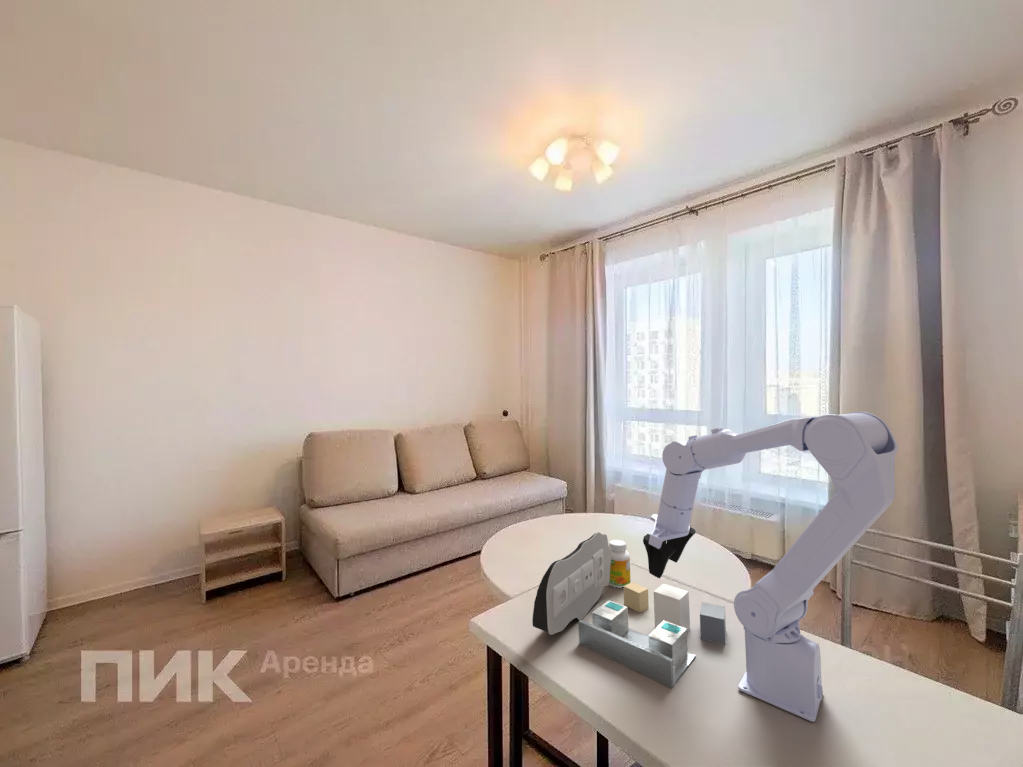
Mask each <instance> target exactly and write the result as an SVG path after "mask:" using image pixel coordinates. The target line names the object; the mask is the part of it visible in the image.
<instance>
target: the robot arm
mask: <svg viewBox="0 0 1023 767" xmlns="http://www.w3.org/2000/svg"><path fill="white" fill-rule="evenodd" d="M710 432H711V433H707V434H703V435H701V436H700V435H699V436H698V435H697V434H696V435H690V436H688V440H683V441H676V440H675V441H674V440H673V441H671V442H670V443H669V444H667V445H665V447H664V448H663V450H662V454H661V455H662V457H661V458H662V463H663V465H664V467H665V475H664V480H663V485H662V489H661V495H660V500H659V506H658V510H657V514H656V513H653V514H652V515H651V516H650V520H651V522H654V525H653V530H652V532H651V533H646V534H645V535H644V536H643V538H642V543H643V546H644V548H645V551H646V554H647V562H648V573H649V574H650V575H652V576H653V577H656V578H658V579H660V578H661V577H662V576H663V574H664V572H665V569H666V567H667V563H668V562H669V560H670V561H671V562H674V563H678V561H679V560H680V558H681V556H682V554H683V552H684V550H685V547H686V545H687V544H688V542H689V541H690V540H691V538H692V537H694V535H695V534H696V533H697V532H696V530H695V528H693V527H691V526H690V525H691V521H692V516H693V515H692V514H693V510H694V509H693V508H694V506H695V505H694V504H695V500H696V495H697V490H698V486H699V481H700V479H701V477H702V473H703V472H705V470H711V469H715V468H721V467H726V466H731V465H737V464H740V463H741V462H742V461H743V460H744V458H745V456H746V454H748V453H752V452H754V453H755V452H759V451H765V450H768V449H774V448H780V447H786V446H791V447H793V448H795V449H797V450H798V451H799V452H806V451H807V452H808V451H809V452H810V453H811V455H812V457H814V458H815V460H816V461H817V462H818V463H819V465H820V466H821V467H822V468H823V469H824V471H825V472H826V473H827V474H828V476H829V477H830V478H831V482H832V483H833V485H834V488H835V493H834V494H833V495H832V497H831V498H830V499H829V500H828V501H827V503H826V504H825V505H824V506H823V507H822V509H821V510H820V511H819V512H818V513H817V515H816V516H815V517H814V518H813V520H812V521H811V522H810V523H809V524H808V526H807V527H806V528H805V529H804V531H803V532H802V533H801V534H800V536H799V537H798V538H797V539H796V541H794V543H793V544H792V546H790V548H789V549H788V550H787V552H785V554H784V555H783V557H781V559H780V560H779V561H778V563H777V564H776V565H775V566H774V567H773V569H771V571H769V572H768V573H766V575H764V576H763V577H761V578H760V579H759V580H758V581H757V582H756V583H755V584H754V585H753V586H752V587H751V588H748V589H745V590H741V591H739V592H738V593H736V595H735V597H734V600H733V608H734V613H735V615H736V617H737V619H738V621H739V622H740V624H741V625H742V627H743V630H744V642H745V643H744V645H745V648H744V649H745V667H746V669H745V672H744V674H743V676H742V677H741V679H740V681H739V683H738V684H737V688H738V690H739V691H740V692H743V693H745V694H748V695H750V696H752V697H754V698H756V699H758V700H761V701H763V702H766V703H768V704H771V705H773V706H775V707H777V708H779V709H781V710H784V711H786V712H788V713H791V714H793V715H796V716H798V717H800V718H803V719H805V720H807V721H810V722H811V723H812V722H816V719H817V716H818V712H819V709H820V705H821V701H822V700H823V693H824V691H823V684H822V682H823V681H822V662H821V650H820V649H821V648H820V644H819V643H817V642H816V641H814V640H812V639H809V638H807V637H805V636H804V635H802V634H801V627H800V620H801V619H803V618H804V617H805V616H806V615H807V612H808V607H809V606H808V605H809V601H810V599H811V597H812V596H813V595H814V594H815V592H814V589H815V588H816V587H817V586H818V585H819V584H820V582H821V581H822V580H823V579H824V578H825V577H826V576H827V574H829V572H831V571H832V570H833V568H834V567H836V565H837V564H838V563H839V562H840V561H841V559H842V558H843V557H844V556H845V555H846V554H847V553H848V552H849V551H850V550H851V549H852V548H853V546H855V544H857V542H858V541H859V540H860V538H862V536H863V535H864V534H865V533H866V532H867V531H869V529H870V528H871V527H872V526H873V524H875V522H876V521H877V520H878V519H879V518H880V516H882V514H884V513H885V511H887V509H888V508H889V507H890V506H891V505H892V504H893V501H894V500H895V495H896V487H895V486H896V481H895V480H896V478H895V476H896V475H895V474H896V470H895V469H896V468H895V467H896V465H895V464H896V463H895V462H896V461H895V460H896V456H897V452H898V449H899V443H898V442H897V440H896V438H895V436H894V435H893V432H892V431H891V429H890V427H889V425H888V423H887V422H885V421H884V419H882V418H881V417H879V416H878V415H876V414H874V413H871V412H868V411H853V412H849V413H844V414H841V413H840V414H835V413H832V414H830V413H829V414H824V415H820V416H810V417H799V418H798V417H797V418H790V419H787V420H783V421H780V422H777V423H774V424H769V425H767V426H763V427H759V428H756V429H753V430H750V431H746V432H742V433H737V432H735V431H734V430H731V429H728V428H727V429H726V428H725V429H723V427H716V428H713V429H710Z"/></svg>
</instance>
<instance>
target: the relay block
mask: <svg viewBox="0 0 1023 767" xmlns="http://www.w3.org/2000/svg"><path fill="white" fill-rule="evenodd" d="M726 620H727V619H726V606H724V605H719V604H714V603H709V602H705V601H701V606H700V611H699V624H700V625H699V628H700V639H701V640H704V641H709V642H713V643H718V644H720V645H721V644H722V645H726V640H727V639H726V638H727V627H726V625H727V623H726V622H727V621H726Z"/></svg>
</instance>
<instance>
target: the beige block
mask: <svg viewBox="0 0 1023 767" xmlns="http://www.w3.org/2000/svg"><path fill="white" fill-rule="evenodd" d="M623 605H624V606H626V607H628V608H630V609H632V610H634V611H635V612H638V613H641V612H643V611H646V610H647V609H649V588H647V587H644V586H642V585H640V584H638V583H635V582H630V583H629V584H627V585H625V586H624V588H623Z"/></svg>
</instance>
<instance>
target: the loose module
mask: <svg viewBox="0 0 1023 767" xmlns="http://www.w3.org/2000/svg"><path fill="white" fill-rule="evenodd" d="M689 594H690V591H689V590H685V589H682V588H679V587H675V586H674V585H673V586H672V585H670V584H666V583H662V584H661V585H659V586H658V587H657V588H656V589H655V590H654V591H653V605H654V606H653V611H654V629H655V628H656V627H657V626H658V625H659V624H660V623H662V622H663V621H667V622H669V623H672V624H675V625H678V626H680V627H683V628H686V629H687V632H688V631H689V630H690V629H691V621H690V620H691V618H690V616H691V615H690V595H689Z"/></svg>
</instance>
